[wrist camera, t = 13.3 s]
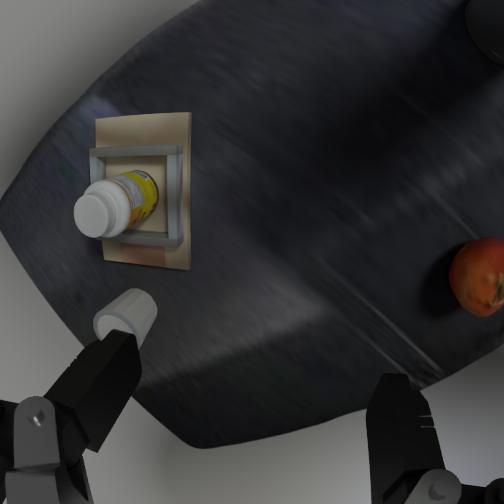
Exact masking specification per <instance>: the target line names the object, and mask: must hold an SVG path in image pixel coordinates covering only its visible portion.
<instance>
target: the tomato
mask: <svg viewBox="0 0 504 504" xmlns="http://www.w3.org/2000/svg"><path fill="white" fill-rule="evenodd" d="M449 281H450V285H451V287H452V290H453V293H454V294H455V296H456V298H457V299H458V301H459V303H460V304H461V306H462V307H464V308H465V309H466V310H467V311H469V312H471V313H473V314H474V315H476V316H479V317H484V316H488V315H491V314H493V313H494V312H495V311H496V310H497V309H499V308H500V307H501V306H502V305H504V242H503V241H502V240H500V239H497V238H495V237H484V238H480V239H477V240H472V241H470V242H468V243H466V244H465V245H464V247H463V248H462V249H461V250H460V251H459V252H458V254H457V255H456V256H455V258H454V260H453V261H452V265H451V268H450V271H449Z"/></svg>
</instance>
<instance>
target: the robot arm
mask: <svg viewBox="0 0 504 504" xmlns="http://www.w3.org/2000/svg"><path fill="white" fill-rule="evenodd" d="M464 18H465V23H466V27H467V30H468V32H469V34H470V36H471V38H472V40H473V41H474V43H475V44H476V46H477V47H478V48H479V49H480V50H481V51H482V52H483V53H484V55H486V56H487V57H488V58H489V59H491V60H492V61H494V62H496V63H498V64H502V65H504V0H470V1H469V2H468V3H467V5H466V7H465V12H464ZM141 374H142V366H141V361H140V355H139V350H138V345H137V339H136V336H135V335H134V334H132V333H128V332H124V331H121V330H117V329H112V330H111V331H110V332H109V333H108V334H107V335H106V336H105V338H104V339H103V340H102V341H101V340H96V341H94V342H93V343H91V344H89V345H88V346H86V347H85V348H84V349H83V350H82V351H81V352H80V354H79V355H78V356H77V359H74V361H73V362H72V363H71V364H70V367H68V368H67V369H66V370H65V371H64V372H63V374H62V375H61V376H60V377H59V378H58V379H57V381H56V382H55V383H54V384H53V386H52V387H51V388H50V389H49V391H48V392H47V393H46V394H45V395H44V396H43V397H39V396H33V397H29V398H27V399H25V400H23V401H22V402H21V403H14V402H9V401H4V400H0V504H3V502H4V500H5V498H7V504H94V502H93V499H92V495H91V491H90V487H89V483H88V478H87V474H86V469H85V465H84V460H83V456H82V454H83V452H84V450H85V449H86V448H87V449H89V450H92V451H94V452H96V453H98V451H99V449H100V447H101V445H102V444H103V442H104V441H105V439H106V437H107V435H108V434H109V432H110V430H111V428H112V427H113V425H114V424H115V422H116V420H117V419H118V417H119V415H120V414H121V412H122V410H123V408H124V407H125V405H126V403H127V402H128V400H129V398H130V397H131V395H132V393H133V392H134V390H135V389H136V387H137V385H138V383H139V381H140V378H141ZM366 428H367V439H368V451H369V464H370V479H371V500H372V504H504V478H499V479H496V480H494V481H492V482H491V483H490V484H489V485H488V486H486V487H480V486H472V485H465V484H461V483H460V481H459V479H458V478H457V477H456V475H454V474H453V473H452V472H450V471H448V470H446V468H445V465H444V461H443V457H442V453H441V449H440V445H439V441H438V437H437V433H436V429H435V428H434V422H433V418H432V417H431V411H430V408H429V404H428V401H427V400H426V399H425V398H424V396H423V395H422V394H421V392H420V391H419V390H412V389H411V385H410V382H409V378H408V376H407V375H406V374H393V373H384V374H383V375H382V376H381V378H380V380H379V382H378V385H377V387H376V389H375V391H374V393H373V396H372V398H371V400H370V402H369V404H368V407H367V412H366Z"/></svg>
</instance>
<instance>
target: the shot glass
mask: <svg viewBox="0 0 504 504" xmlns="http://www.w3.org/2000/svg"><path fill="white" fill-rule="evenodd" d="M156 317H157V307H156V303H155V302H154V300H153V299H152V297H151V296H150V295H148V294H147V293H146V292H145V291H142V290H140V289H129V290H127V291H125V292H124V293H123V294H121V295H120V296H119V297H117V298H116V299H115V300H113V301H112V302H111V303H110V304H108V305H107V306H106V307H104V308H103V309H102V310H101V311H99V312H98V313H97V314H96V316H95V318H94V320H93V323H94V330H95V333H96V335H97V337H98V338H99V340H101V341H102V340H103V339H104V338H105V336H106V335H107V334H108V333H109V332H110V331H111V330H112V329H117V330H121V331H124V332H128V333H132V334H134V335H135V336H136V339H137V345H138V350H139V349H140V347H141V345H142V343H143V341H144V339H145V337H146V335H147V333H148V332H149V330H150V328H151V326H152V324H153V322H154V320H155V318H156Z"/></svg>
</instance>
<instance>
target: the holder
mask: <svg viewBox="0 0 504 504" xmlns="http://www.w3.org/2000/svg"><path fill="white" fill-rule="evenodd" d="M191 115H192V113H189V112H186V113H161V114H145V115H132V116H121V117H111V118H102V119H96V148H92V149H89V151H90V178H91V185H92V184H93V183H95V182H97V181H100V180H103V179H106V178H109V177H112V176H115V175H119V174H122V173H125V172H129V171H133V170H142V171H145V172H147V173H149V174H150V175H151V176H152V177H153V178H154V179H155V180H156V182H157V184H158V187H159V191H160V198H159V203H158V205H157V207H156V209H155V210H154V211H153V212H152V213H151V214H150V215H148V216H147V217H145V218H144V219H142V220H140V221H139V222H137V223H136V224H134V225H133V226H131V227H129V228H128V229H126V230H125V231H123V232H122V233H120V234H118V235H117V236H114V237H102V236H99V237H96V240H102V246H103V254H104V260H111V261H119V262H127V263H134V264H142V265H150V266H158V267H166V268H175V269H183V270H189V269H190V268H191V236H190V151H191Z"/></svg>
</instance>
